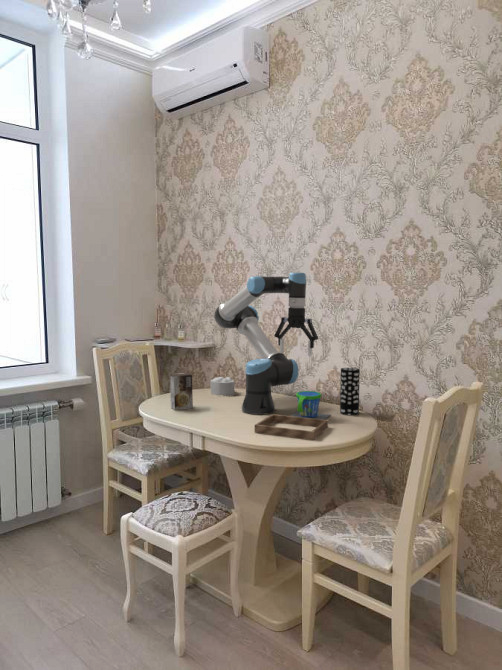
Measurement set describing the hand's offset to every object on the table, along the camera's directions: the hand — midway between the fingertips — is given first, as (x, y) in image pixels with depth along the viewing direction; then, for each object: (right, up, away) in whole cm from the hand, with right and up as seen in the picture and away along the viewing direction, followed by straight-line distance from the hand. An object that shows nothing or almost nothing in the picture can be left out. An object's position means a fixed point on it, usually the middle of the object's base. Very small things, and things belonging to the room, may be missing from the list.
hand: (295, 354), depth 234 cm
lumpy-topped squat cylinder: (-35, -23, +41) cm, 58 cm away
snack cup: (+5, -27, -10) cm, 29 cm away
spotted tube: (+24, -27, -1) cm, 36 cm away
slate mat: (+5, -27, -10) cm, 29 cm away
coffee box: (-53, -26, +9) cm, 59 cm away
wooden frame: (-4, -29, -29) cm, 41 cm away
